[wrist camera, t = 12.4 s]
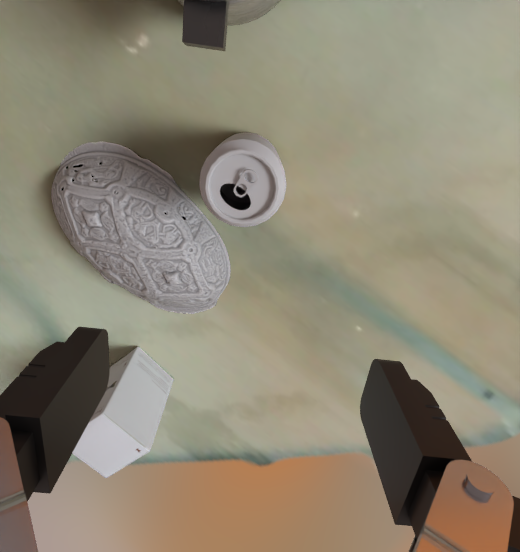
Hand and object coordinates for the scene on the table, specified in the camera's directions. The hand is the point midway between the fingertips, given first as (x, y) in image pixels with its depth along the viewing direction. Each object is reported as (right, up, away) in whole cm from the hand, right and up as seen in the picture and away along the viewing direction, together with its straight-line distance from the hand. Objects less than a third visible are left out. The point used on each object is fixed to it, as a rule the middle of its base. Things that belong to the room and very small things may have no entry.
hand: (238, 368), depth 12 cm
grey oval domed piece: (-13, +8, +35) cm, 38 cm away
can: (-1, +15, +31) cm, 34 cm away
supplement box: (-16, -11, +42) cm, 47 cm away
